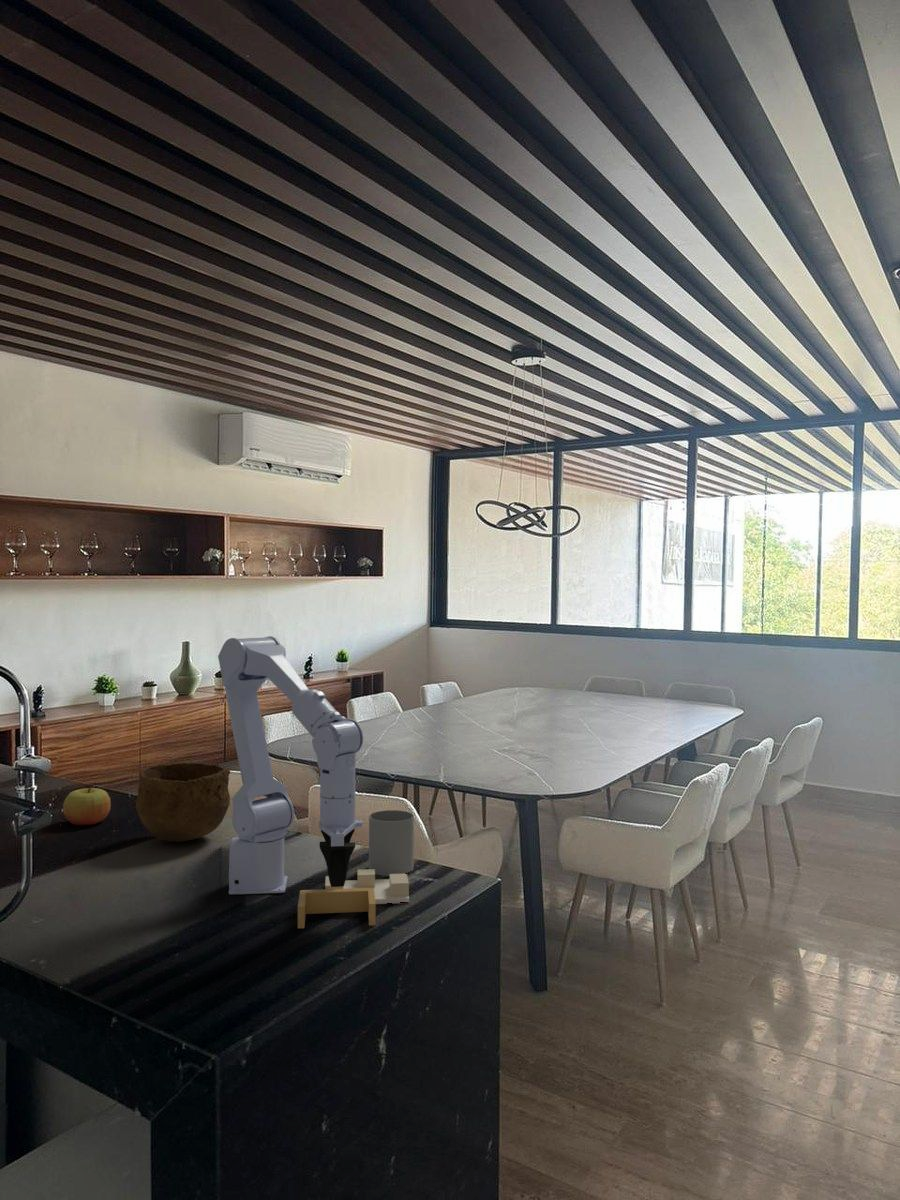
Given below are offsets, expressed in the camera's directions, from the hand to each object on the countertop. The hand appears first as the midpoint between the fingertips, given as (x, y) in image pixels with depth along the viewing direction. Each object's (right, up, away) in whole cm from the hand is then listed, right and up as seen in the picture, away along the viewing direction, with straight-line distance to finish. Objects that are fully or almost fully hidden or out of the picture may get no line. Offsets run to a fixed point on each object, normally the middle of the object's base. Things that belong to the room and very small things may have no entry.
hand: (337, 878), depth 141 cm
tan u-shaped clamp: (0, -5, -3) cm, 6 cm away
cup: (+7, -6, +22) cm, 24 cm away
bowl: (-37, -5, +40) cm, 55 cm away
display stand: (+4, -5, +8) cm, 11 cm away
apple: (-63, -5, +53) cm, 82 cm away
